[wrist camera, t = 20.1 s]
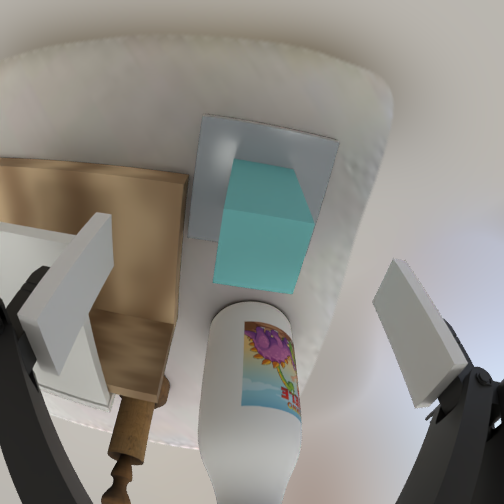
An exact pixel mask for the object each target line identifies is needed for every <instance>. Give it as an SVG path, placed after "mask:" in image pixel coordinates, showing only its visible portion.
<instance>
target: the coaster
mask: <svg viewBox="0 0 504 504" xmlns="http://www.w3.org/2000/svg"><path fill="white" fill-rule="evenodd" d="M338 146H339V142H338V141H337V140H336V139H332V138H328V137H324V136H320V135H316V134H312V133H307V132H303V131H299V130H294V129H289V128H285V127H280V126H275V125H270V124H265V123H259V122H254V121H248V120H243V119H237V118H230V117H224V116H217V115H210V114H204V115H203V117H202V123H201V130H200V137H199V144H198V151H197V158H196V166H195V173H194V181H193V190H192V198H191V207H190V217H189V226H188V237H189V238H195V239H201V240H207V241H214V242H219V236H220V229H221V223H222V216H223V210H224V204H225V199H226V194H227V189H228V184H229V180H230V175H231V170H232V165H233V160H234V159H239V160H245V161H251V162H257V163H263V164H268V165H273V166H279V167H284V168H289V169H294V172H295V174H296V177H297V179H298V182H299V184H300V187H301V189H302V192H303V194H304V197H305V199H306V202H307V204H308V207H309V210H310V212H311V215H312V218H313V220H314V223H315V225H316V221H317V218H318V215H319V212H320V208H321V205H322V202H323V199H324V195H325V192H326V188H327V185H328V182H329V178H330V175H331V171H332V168H333V164H334V161H335V157H336V154H337V150H338ZM315 225H314V228H315ZM313 231H314V229H313ZM312 234H313V232H312ZM311 237H312V235H311ZM310 241H311V238H310ZM309 244H310V242H309ZM308 247H309V245H308ZM307 250H308V248H307ZM306 253H307V251H306ZM305 256H306V254H305Z"/></svg>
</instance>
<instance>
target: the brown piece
mask: <svg viewBox="0 0 504 504" xmlns="http://www.w3.org/2000/svg"><path fill="white" fill-rule="evenodd" d="M188 180H189V175H187V174H180V173H173V172H165V171H158V170H150V169H141V168H133V167H124V166H114V165H104V164H94V163H82V162H70V161H56V160H41V159H21V158H0V222H5V223H10V224H16V225H21V226H27V227H32V228H38V229H44V230H49V231H55V232H61V233H66V234H72V235H77V234H78V233H79V231H80V230H81V229H82V228H83V227H84V225H85V224H86V223H87V222H88V221H89V220H90V219H91V217H92V216H93V215H94V214H95V213H96V212H98V213H106V214H111V217H112V243H113V259H114V267H113V268H112V270H111V272H110V274H109V276H108V277H107V279H106V281H105V283H104V285H103V287H102V289H101V290H100V292H99V294H98V296H97V298H96V300H95V302H94V304H93V306H92V308H91V310H90V312H89V314H88V315H89V319H90V324H91V328H92V333H93V337H94V341H95V345H96V349H97V353H98V357H99V361H100V364H101V368H102V372H103V375H104V379H105V382H106V385H107V389H108V392H111V393H115V394H119V395H123V396H127V397H131V398H136V399H140V400H145V401H149V402H154V403H158V399H159V395H160V390H161V385H162V381H163V376H164V372H165V368H166V363H167V359H168V355H169V351H170V346H171V342H172V338H173V334H174V330H175V326H176V322H177V318H178V297H179V280H180V266H181V252H182V240H183V228H184V218H185V208H186V198H187V189H188Z"/></svg>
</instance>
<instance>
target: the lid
mask: <svg viewBox="0 0 504 504" xmlns="http://www.w3.org/2000/svg"><path fill="white" fill-rule="evenodd" d="M75 236H76V235H72V234H66V233H61V232H55V231H49V230H44V229H38V228H32V227H27V226H21V225H16V224H10V223H5V222H0V298H1V299H2V300H3V303H4V305H5V308H6V307H7V306H8V304H9V303H10V302H11V300H12V299H13V298H14V296H15V295H16V293H17V292H18V291H19V290H20V288H21V287H22V285H23V284H24V283H26V280H27V279H28V278H29V276H30V275H31V274H32V272H34V271H35V270H37V269H38V268H40V267H41V266H48V267H51V266H52V265H53V263H54V262H55V261H56V260H57V258H58V257H59V256H60V254H61V253H62V252H63V251H64V249H65V248H66V247H67V246H68V245H69V243H70V242H71V241H72V240H73V238H74V237H75ZM33 371H34V373H35V375H36V379H37V382H38V385H39V388H40V390H42V391H44V392H47V393H50V394H52V395H55V396H58V397H61V398H64V399H67V400H70V401H73V402H76V403H79V404H82V405H86V406H89V407H92V408H96V409H99V410H103V411H107V412H110V411H111V408H112V404H113V401H114V398H115V395H116V394H115V393H111V392H108V389H107V385H106V382H105V379H104V375H103V372H102V368H101V364H100V361H99V357H98V353H97V349H96V345H95V341H94V337H93V333H92V328H91V324H90V319H89V315H88V316H87V318H86V320H85V322H84V324H83V326H82V328H81V330H80V332H79V334H78V336H77V338H76V340H75V342H74V344H73V347H72V349H71V351H70V353H69V355H68V358H67V360H66V362H65V364H64V367H63V369H62V371H61V373H60V376H57V375H54V374H50V373H47V372H44V371H41V369H40V367H39V364H38V362H37V361H36V363H35V365H34V367H33Z"/></svg>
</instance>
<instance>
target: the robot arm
mask: <svg viewBox="0 0 504 504" xmlns="http://www.w3.org/2000/svg"><path fill="white" fill-rule="evenodd" d="M113 267H114V259H113V243H112V217H111V214H106V213H98V212H96V213H95V214H94V215H93V216H92V217H91V219H90V220H89V221H88V222H87V223H86V224H85V225H84V227H83V228H82V229H81V230H80V231H79V233H78V234H77V235H76V236H75V237H74V238H73V240H72V241H71V242H70V243H69V245H68V246H67V247H66V248H65V249H64V251H63V252H62V253H61V254H60V256H59V257H58V258H57V260H56V261H55V262H54V263H53V265H52V266H51V267H48V266H41V267H40V268H38V269H37V270H35V271H34V272H32V274H31V275H30V276H29V278H28V279H27V280H26V283H24V284H23V285H22V287H21V288H20V290H19V291H18V292H17V293H16V295H15V296H14V298H13V299H12V300H11V302H10V303H9V304H8V306H7V307H6V308H5V305H4V303H3V300H2V299H1V298H0V446H1V449H2V452H3V455H4V459H5V461H6V464H7V466H8V470H9V473H10V475H11V478H12V480H13V483H14V485H15V488H16V490H17V493H18V495H19V497H20V499H21V502H22V504H93V503H92V501H91V499H90V497H89V496H88V494H87V492H86V491H85V489H84V487H83V485H82V484H81V482H80V480H79V478H78V476H77V474H76V472H75V470H74V468H73V467H72V464H71V462H70V460H69V458H68V456H67V454H66V452H65V450H64V448H63V446H62V444H61V441H60V439H59V437H58V435H57V432H56V430H55V427H54V425H53V423H52V420H51V418H50V415H49V413H48V410H47V407H46V405H45V402H44V399H43V396H42V394H41V391H40V388H39V385H38V382H37V379H36V375H35V373H34V371H33V367H34V365H35V363H36V361H37V362H38V364H39V367H40V369H41V371H44V372H47V373H50V374H54V375H57V376H60V373H61V371H62V369H63V367H64V364H65V362H66V360H67V358H68V355H69V353H70V351H71V349H72V347H73V344H74V342H75V340H76V338H77V336H78V334H79V332H80V330H81V328H82V326H83V324H84V322H85V320H86V318H87V316H88V314H89V312H90V310H91V308H92V306H93V304H94V302H95V300H96V298H97V296H98V294H99V292H100V290H101V289H102V287H103V285H104V283H105V281H106V279H107V277H108V276H109V274H110V272H111V270H112V268H113ZM373 305H374V307H375V309H376V312H377V313H378V316H379V318H380V321H381V323H382V325H383V328H384V330H385V332H386V334H387V337H388V339H389V342H390V344H391V346H392V349H393V351H394V354H395V356H396V359H397V361H398V364H399V367H400V369H401V372H402V374H403V377H404V379H405V382H406V385H407V387H408V390H409V393H410V395H411V398H412V401H413V404H414V407H415V408H422V407H429V406H430V405H431V404H432V403H433V402H434V401H435V400H436V399H437V398H438V400H439V402H440V404H439V405H438V406H437V407H436V408H435V409H434V410H433V411H432V412H431V413H430V414H429V415H428V416H427V417H426V419H425V420H428V419H429V418H430V417H432V416H433V418H432V420H431V421H430V426H429V429H428V432H427V434H426V437H425V439H424V442H423V444H422V447H421V450H420V452H419V454H418V457H417V459H416V462H415V464H414V466H413V468H412V471H411V473H410V475H409V477H408V479H407V481H406V484H405V486H404V488H403V490H402V492H401V494H400V496H399V498H398V500H397V502H396V503H395V504H504V379H503V380H502V382H501V383H499V382H495V381H493V380H492V378H491V376H490V375H489V373H488V372H487V371H486V370H484V369H482V368H480V367H474V365H473V364H472V362H471V360H470V358H469V356H468V354H467V353H466V351H465V349H464V347H463V345H462V344H460V340H459V339H458V337H456V333H455V331H454V330H453V328H452V326H450V324H449V323H448V322H447V321H446V320H445V319H443V318H442V316H441V315H440V313H439V311H438V310H437V308H436V306H435V305H434V304H433V302H432V300H431V298H430V297H429V295H428V294H427V292H426V291H425V289H424V287H423V286H422V284H421V283H420V281H419V280H418V279H417V277H416V275H415V274H414V272H413V271H412V269H411V268H410V266H409V265H408V263H407V262H406V261H405V260H399V259H393V260H392V262H391V264H390V267H389V269H388V271H387V273H386V275H385V277H384V279H383V281H382V283H381V285H380V287H379V289H378V291H377V293H376V295H375V297H374V299H373ZM500 418H501V424H500V425H499V426H498V427H497V428H495V427H494V423H495V422H496V421H498V420H499V419H500Z"/></svg>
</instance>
